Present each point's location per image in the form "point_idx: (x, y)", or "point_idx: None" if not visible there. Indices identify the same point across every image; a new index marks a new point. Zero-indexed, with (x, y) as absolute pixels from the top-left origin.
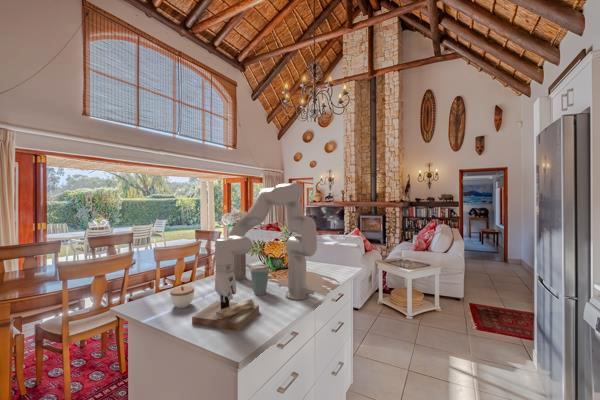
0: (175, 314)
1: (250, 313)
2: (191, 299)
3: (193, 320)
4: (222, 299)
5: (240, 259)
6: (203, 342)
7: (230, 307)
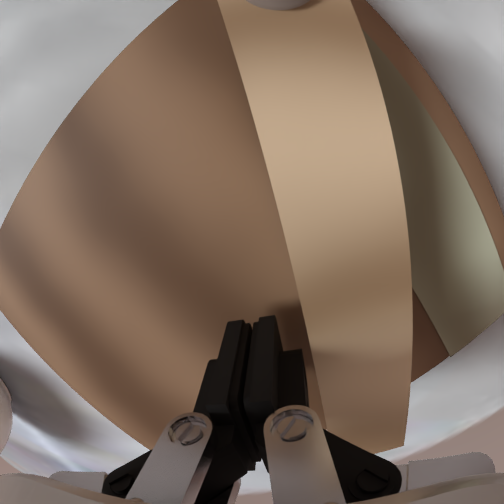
0: (66, 436)
1: (448, 105)
2: None
3: None
4: (232, 478)
5: None
6: (432, 434)
7: (355, 353)
